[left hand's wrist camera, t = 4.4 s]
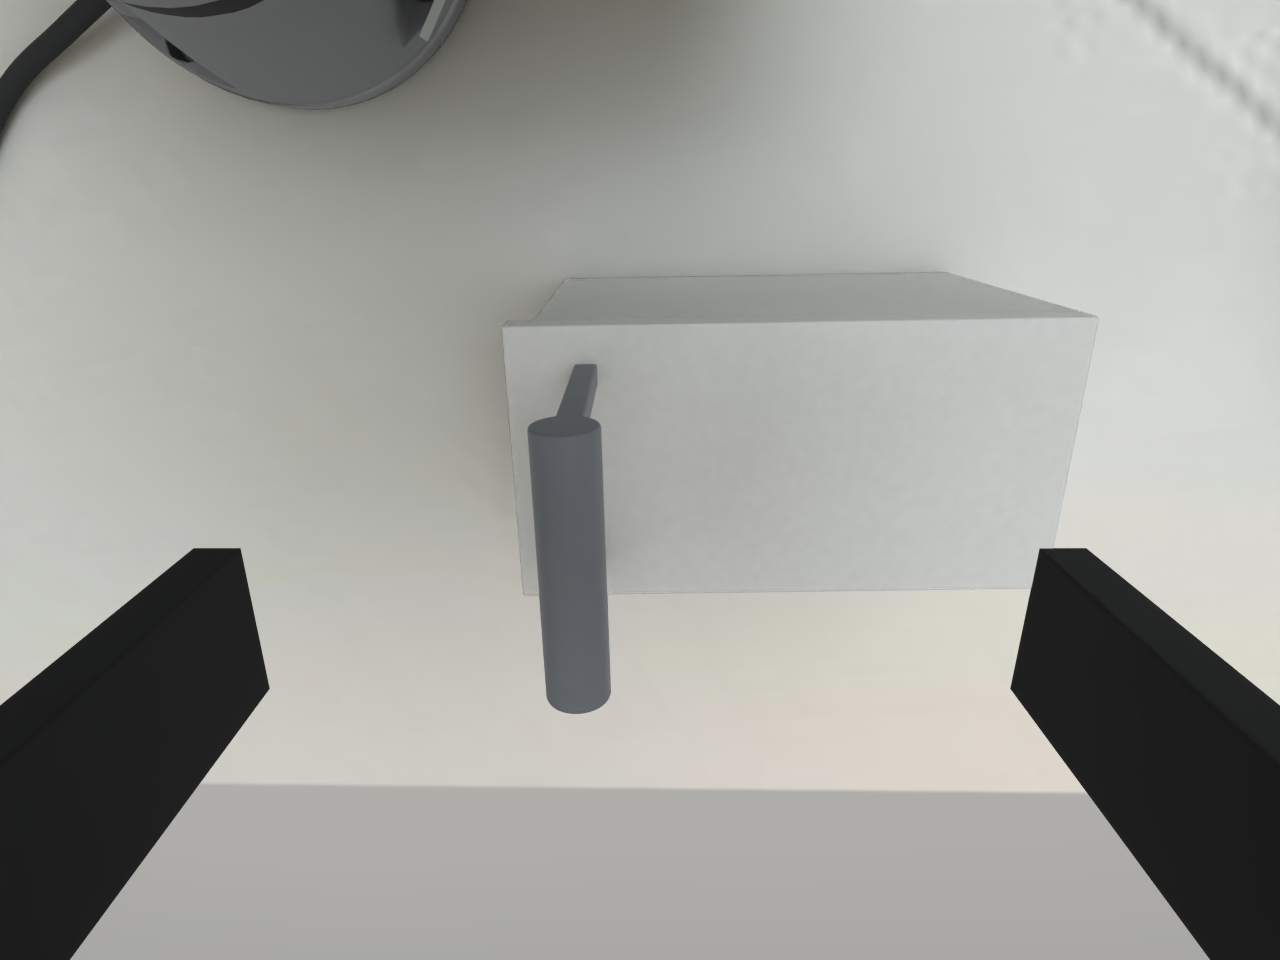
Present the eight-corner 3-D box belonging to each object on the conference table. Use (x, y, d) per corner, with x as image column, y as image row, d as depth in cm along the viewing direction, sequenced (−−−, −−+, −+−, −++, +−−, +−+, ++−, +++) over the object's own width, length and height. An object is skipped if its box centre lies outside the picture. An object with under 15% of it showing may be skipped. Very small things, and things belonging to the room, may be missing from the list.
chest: (575, 471, 38) (549, 580, 27) (565, 278, 34) (532, 320, 24) (923, 465, 38) (1031, 574, 27) (947, 272, 34) (1081, 311, 24)
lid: (526, 581, 27) (478, 750, 19) (506, 320, 24) (437, 390, 16) (1031, 574, 27) (1198, 741, 19) (1082, 311, 24) (1309, 377, 16)
